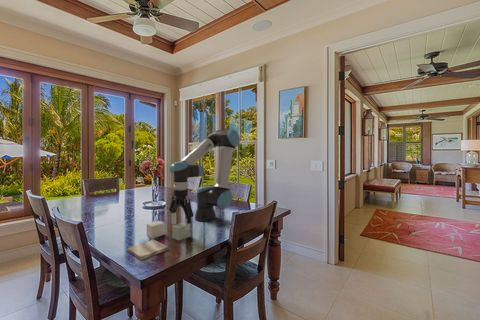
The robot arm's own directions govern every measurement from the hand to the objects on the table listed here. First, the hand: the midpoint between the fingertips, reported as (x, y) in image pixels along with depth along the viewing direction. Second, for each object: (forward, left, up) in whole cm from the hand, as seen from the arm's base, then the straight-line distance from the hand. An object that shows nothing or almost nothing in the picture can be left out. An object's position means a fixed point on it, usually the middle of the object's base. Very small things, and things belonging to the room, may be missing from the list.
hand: (180, 226), depth 131 cm
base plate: (+21, +2, -6) cm, 22 cm away
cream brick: (+8, -14, -6) cm, 17 cm away
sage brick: (0, 0, -6) cm, 6 cm away
